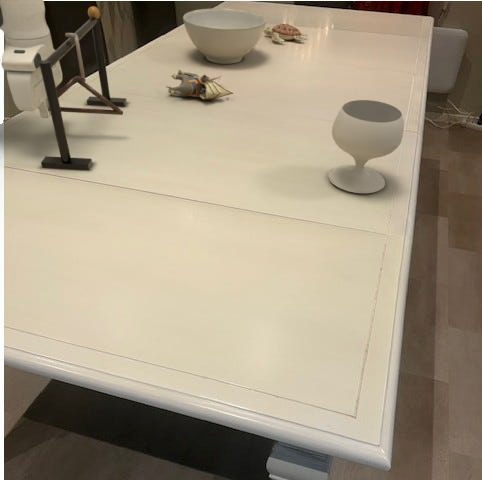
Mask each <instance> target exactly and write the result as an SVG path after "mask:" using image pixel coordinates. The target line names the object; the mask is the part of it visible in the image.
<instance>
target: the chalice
mask: <svg viewBox="0 0 482 480" xmlns="http://www.w3.org/2000/svg"><path fill="white" fill-rule="evenodd" d="M404 128H405V124H404V117H403V114H402V111H401V110H400V109H399V108H397V107H396V106H394V105H391V104H389V103H386V102H382V101H378V100H372V99H371V100H369V99H357V100H352V101H351V100H350V101H348V102H346V103H344V104H343V105H342V106H341V107H340V109H339V111H338V112H337V114H336V116H335V119H334V121H333V124H332V127H331V135H332V139H333V141H334V144H335V145H336V146H337V147H338V148H339V149H340V150H342V151H343V152H344V153H346V154H348V155H349V156H351V157H352V158H353V159H354V164H355V165H353V164H352V165H350V164H349V165H346V164H345V165H341V166H337V167H335V168H333V169H331V170H330V171H329V173H328V179H329V182H331V183H332V185H334V186H335V187H337V188H339V189H341V190H344V191H346V192H350V193H356V194H371V193H376V192H379V191H381V190H383V188H384V187H385V185H386V180H385V179H384V177H383V175H381V174H380V173H379V172H377V171H376V170H374V169H371V168H369V167H365V165H366V163H367V162H368V161H370V160H372V159H378V158H382V157H385V156H388V155H390V154H392V153H393V152H394V151H396V150H397V149H398V148H399V147H400V145H401V144H402V140H403V137H404Z"/></svg>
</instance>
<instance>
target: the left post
mask: <svg viewBox="0 0 482 480" xmlns="http://www.w3.org/2000/svg"><path fill="white" fill-rule="evenodd" d="M87 15H88V17H89V19H90V18H92V17H94V18H96V19H97V20H98V22H97V24H96V25H95V26H94V27H93V28H92V29H91V31H92V38H93V44H94V52H95V58H96V64H97V71H98V78H99V84H100V90H101V91H100V92H101V95H102V96H103V97H105V98H106V99H107V100H109V101H110V102H111V103H113V104H114V105H115V106H117V107H118V108H120V107H121V108H125V107H126V105H127V103H128V102H127V98H126V97H111V93H110V86H109V80H108V72H107V65H106V59H105V52H104V44H103V37H102V29H101V24H100V23H101V22H100V16H101V12H100V10H99V8H98V7H96V6H95V5H93V6H90V7H88V9H87ZM86 104H87V106H101V107H109V106H108V105H107V104H105V103H104V102H103V101H101V100H100V99H99V98H97V97H96V96H89V97H87V99H86Z"/></svg>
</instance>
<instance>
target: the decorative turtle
mask: <svg viewBox="0 0 482 480" xmlns="http://www.w3.org/2000/svg"><path fill="white" fill-rule="evenodd" d="M263 33H264V34H265V35H267V36H271V40H273V41H274V42H277V43H284V42H285V40H286V41H287V40H297V41H306V38H305V37H307V36H308V33H304V32H301V31H300V29H298V28H297V27H295V26H293V25H292V24H288V23H280V24H277V25H274V26H273V27H265V28H264V30H263Z"/></svg>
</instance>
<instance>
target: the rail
mask: <svg viewBox="0 0 482 480" xmlns="http://www.w3.org/2000/svg"><path fill="white" fill-rule="evenodd" d="M97 22H98V20H97V19H96V18H94V17H92V18H90V17H89V19H88V20H87V21H86V22H85V23H83V25H82V26H81V27H79V28H78V29H77V30H76V31H75V32H74V33H75V34H77V35H78V39H79V41H81V40H82V38H84V37H85V36H86V35H87V33H89V32H90V31H92V28H93V27H94V26H95V25H96V24H97ZM74 46H76V45H75V39H74V38H72V37H68V38H67V39H66V40H65V41H64V42H63V43H62V44H61V45H60V46H59V47H58V48H56V49H55V51H54V52H53V53H52V54H51V55H50V56H49V57H48V58H47V59H46V60H43V61H40V62H39V64H40V69H41V73H42V78H43V82H44V86H45V91H46V95H47V99H48V104H49V108H50V112H51V115H50V117H51V121H52V125H53V129H54V134H55V138H56V144H57V147H58V151H59V156H51V155H50V156H48V155H45V156H44V158H43V159H42V160H41V161H40V164H41V168H43V169H60V170H61V169H62V170H76V171H77V170H78V171H79V170H80V171H89V170H90V169H91V168H92V165H93V159H92V158H89V157H88V158H87V157H86V158H85V157H72V156H71V152H70V147H69V143H68V138H67V134H66V133H67V132H66V129H65V123H64V119H63V114H62V112H61V109H60V107H61V106H60V105H61V104H60V100H59V98H58V95H57V92H58V91H57V87H56V86H55V81H54V77H53V72H52V67H53V66H54V65H55V64H56V63H57V62H58V61H59V62H60V60H61V59H62V58H63V57H64V56H66V54H67V53H68V52H69V51H71V49H72V48H73V47H74Z"/></svg>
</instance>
